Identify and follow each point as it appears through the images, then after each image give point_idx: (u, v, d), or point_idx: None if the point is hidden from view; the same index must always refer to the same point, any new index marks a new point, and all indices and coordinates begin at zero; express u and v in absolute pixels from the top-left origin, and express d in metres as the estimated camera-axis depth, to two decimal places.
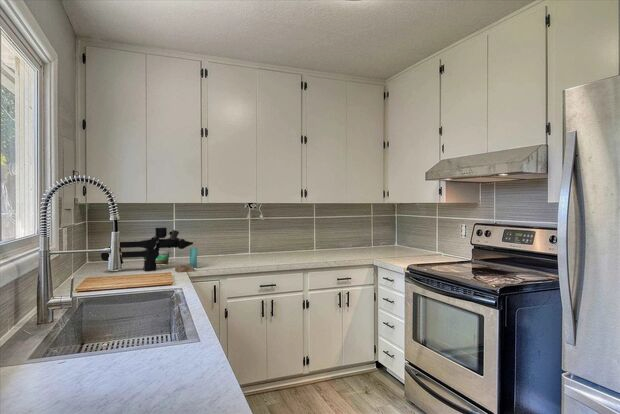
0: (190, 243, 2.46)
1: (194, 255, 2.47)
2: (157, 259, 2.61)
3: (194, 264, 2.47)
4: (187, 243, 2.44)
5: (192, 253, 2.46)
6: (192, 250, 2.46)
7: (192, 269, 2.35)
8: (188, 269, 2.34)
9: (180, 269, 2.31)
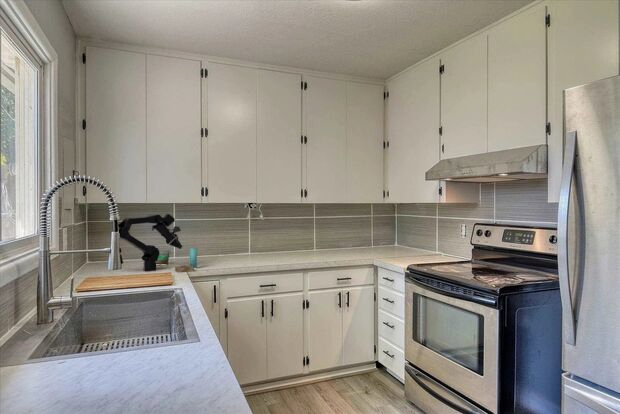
0: (178, 246, 2.41)
1: (194, 255, 2.47)
2: None
3: (194, 264, 2.47)
4: (176, 244, 2.40)
5: (192, 253, 2.46)
6: (192, 250, 2.46)
7: (192, 269, 2.35)
8: (188, 269, 2.34)
9: (180, 269, 2.31)
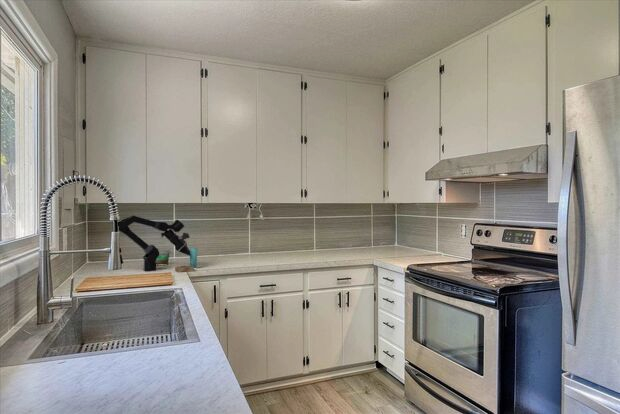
0: (187, 253, 2.43)
1: (194, 255, 2.47)
2: (157, 259, 2.61)
3: (194, 264, 2.47)
4: (185, 251, 2.42)
5: (192, 253, 2.46)
6: (192, 250, 2.46)
7: (192, 269, 2.35)
8: (188, 269, 2.34)
9: (180, 269, 2.31)
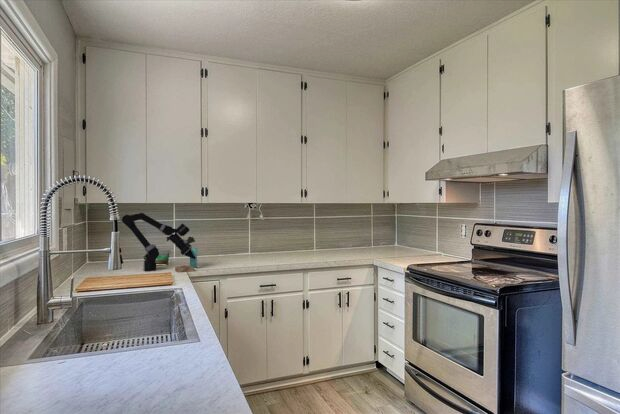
0: (193, 256, 2.45)
1: (194, 255, 2.47)
2: (157, 259, 2.61)
3: (194, 264, 2.47)
4: (190, 254, 2.45)
5: None
6: (192, 250, 2.46)
7: (192, 269, 2.35)
8: (188, 269, 2.34)
9: (180, 269, 2.31)
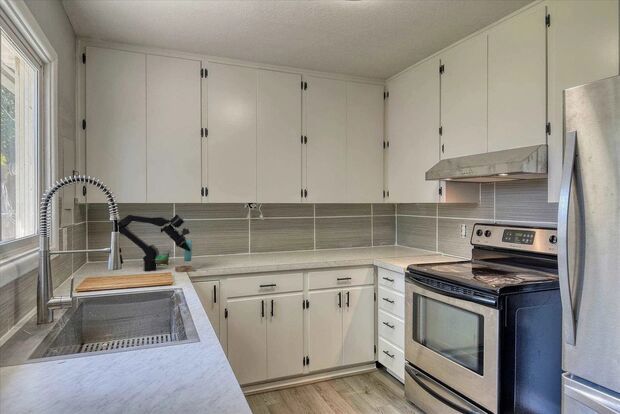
0: (188, 249, 2.39)
1: (189, 247, 2.40)
2: (157, 259, 2.61)
3: (189, 256, 2.40)
4: (185, 246, 2.38)
5: None
6: (187, 242, 2.40)
7: (192, 269, 2.35)
8: (188, 269, 2.34)
9: (180, 269, 2.31)
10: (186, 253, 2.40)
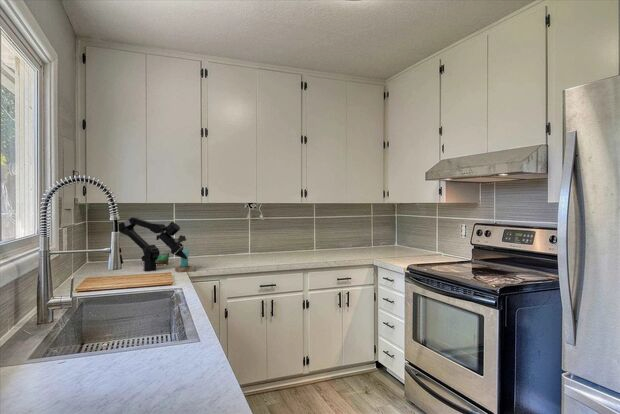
0: (184, 256, 2.33)
1: None
2: (157, 259, 2.61)
3: (185, 266, 2.35)
4: (181, 254, 2.32)
5: None
6: (183, 252, 2.35)
7: (192, 269, 2.35)
8: (188, 269, 2.34)
9: (180, 269, 2.31)
10: (182, 263, 2.35)
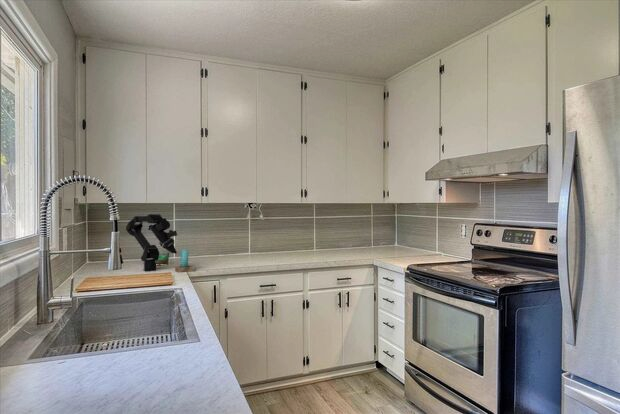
0: (174, 251, 2.33)
1: (185, 257, 2.35)
2: None
3: (185, 266, 2.35)
4: (172, 248, 2.32)
5: (183, 255, 2.35)
6: (183, 252, 2.35)
7: (192, 269, 2.35)
8: (188, 269, 2.34)
9: (180, 269, 2.31)
10: (182, 263, 2.35)
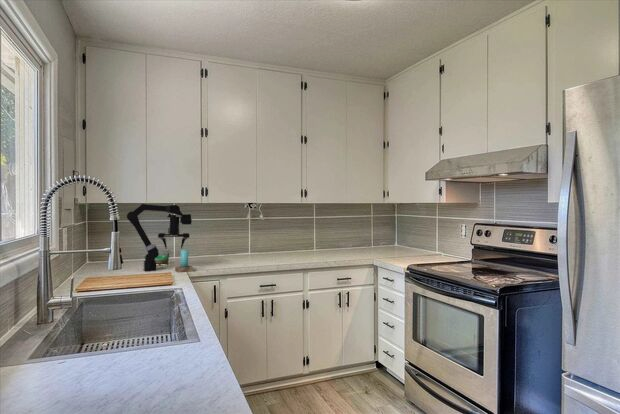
0: (182, 246, 2.45)
1: (185, 257, 2.35)
2: (157, 259, 2.61)
3: (185, 266, 2.35)
4: (183, 242, 2.45)
5: (183, 255, 2.35)
6: (183, 252, 2.35)
7: (192, 269, 2.35)
8: (188, 269, 2.34)
9: (180, 269, 2.31)
10: (182, 263, 2.35)
